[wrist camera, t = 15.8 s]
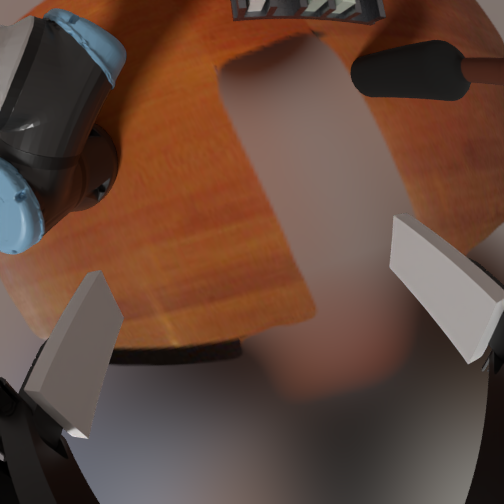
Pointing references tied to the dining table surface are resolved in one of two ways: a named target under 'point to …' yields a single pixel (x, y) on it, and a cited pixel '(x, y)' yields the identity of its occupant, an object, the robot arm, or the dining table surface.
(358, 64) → the wine bottle
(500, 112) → the dining table surface
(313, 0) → the offcut
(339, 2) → the offcut
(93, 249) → the dining table surface
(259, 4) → the tall sheet
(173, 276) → the dining table surface
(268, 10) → the rack
